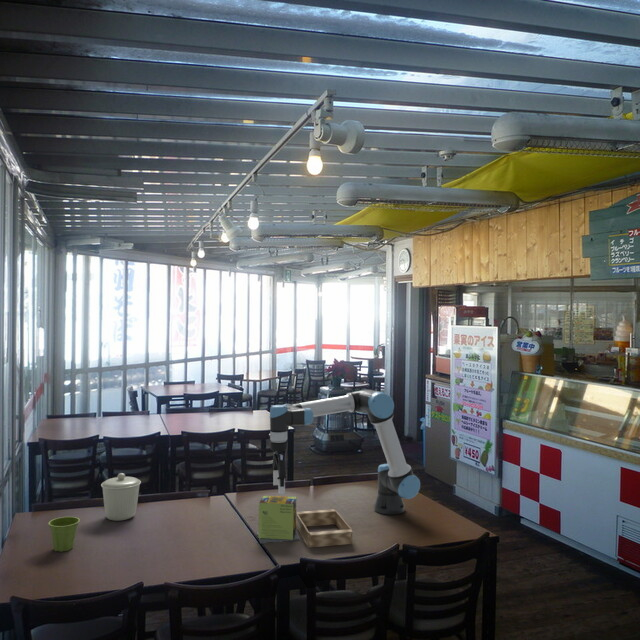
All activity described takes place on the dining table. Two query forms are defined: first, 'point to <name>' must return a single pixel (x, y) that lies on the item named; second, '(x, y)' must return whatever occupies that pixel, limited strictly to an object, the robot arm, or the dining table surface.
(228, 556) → the dining table surface
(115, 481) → the canister
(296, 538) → the mat
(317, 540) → the open wooden box
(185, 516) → the dining table surface
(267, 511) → the protein box
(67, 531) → the plant pot
